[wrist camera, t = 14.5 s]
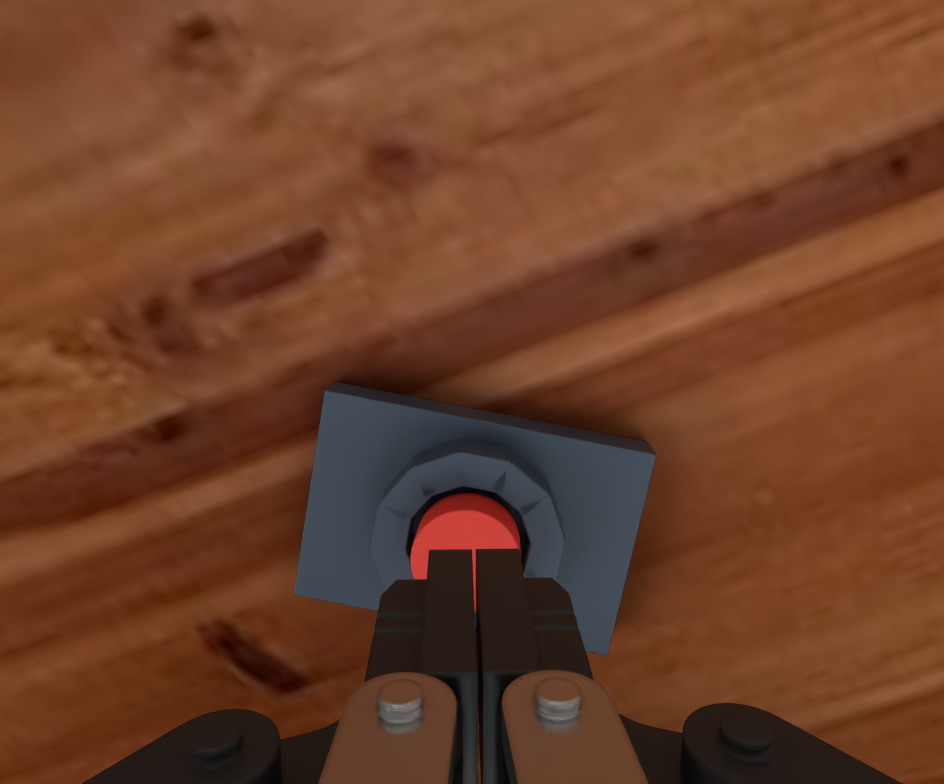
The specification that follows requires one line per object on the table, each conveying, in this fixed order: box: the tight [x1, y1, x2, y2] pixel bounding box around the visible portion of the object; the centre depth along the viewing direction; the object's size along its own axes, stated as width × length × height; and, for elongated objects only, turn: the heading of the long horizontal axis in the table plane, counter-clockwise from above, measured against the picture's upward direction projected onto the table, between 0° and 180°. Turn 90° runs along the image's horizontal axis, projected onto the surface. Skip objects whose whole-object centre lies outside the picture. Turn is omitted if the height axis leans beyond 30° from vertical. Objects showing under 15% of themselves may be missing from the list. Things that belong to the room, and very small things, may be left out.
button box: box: [294, 382, 656, 655], centre depth 28 cm, size 12×8×4 cm, turn 79°
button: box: [410, 493, 521, 612], centre depth 26 cm, size 4×4×2 cm
